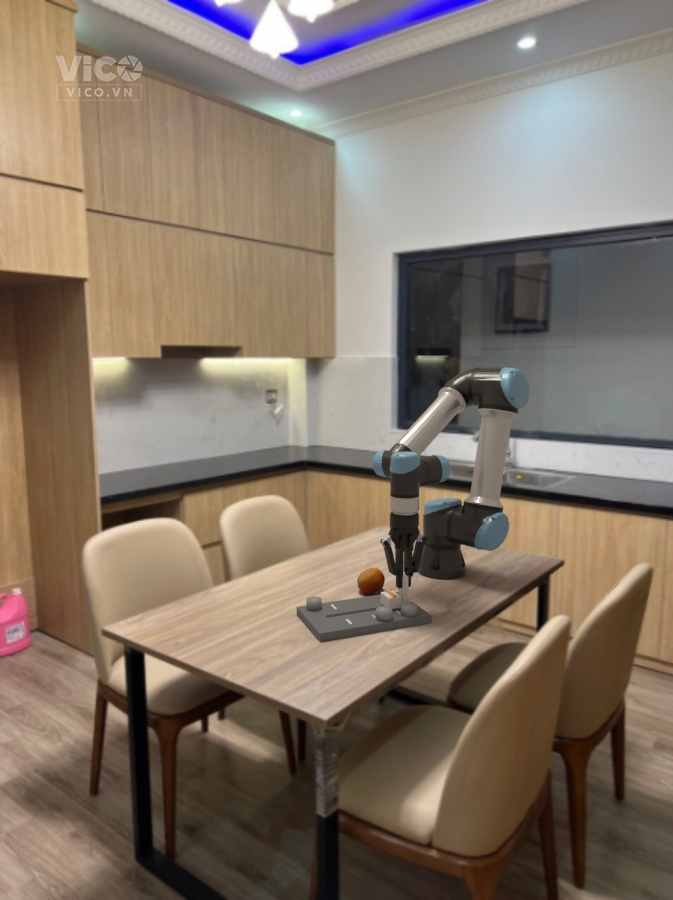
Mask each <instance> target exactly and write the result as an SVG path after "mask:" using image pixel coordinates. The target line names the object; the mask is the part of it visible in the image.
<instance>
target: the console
mask: <svg viewBox="0 0 673 900" xmlns="http://www.w3.org/2000/svg"><path fill="white" fill-rule="evenodd" d="M394 592H395V593H397V594H398V591H394ZM305 602H306V605H300V606H296V615H297V616H298V617H299V618H300V621H302V622H303V623H304V625H305V626H306V627H307V628H308V629H309V631H311V633H312V634H313V635H314V637H315V638H316V639H317V640H318V642H325V641H330V640H331V641H332V640H337V639H342V638H343V639H344V638H347V637H348V638H350V637H355V636H361V635H367V634H371V633H373V634H374V633H379V632H383V631H385V632H386V631H389V630H396V629H401V628H407V627H413V626H419V625H424V624H432V614H430V613H429V612H428V611H426V610H425V609H424V608H423V607H420V606H419V605H418V604H417V603H415V602H414V601H413V600H411V599H410V598H408V601H402V600H401V608H397V609H392V608H390V607H387V606H384V605H382V604H381V593H380V594H373V595H368V596H362V597H360V596H359V597H354V598H348V599H340V600H334V601H328V602H327V601H326V602H323V599H322V598H321V597H320V596H309V597H306V601H305Z"/></svg>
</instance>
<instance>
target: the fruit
mask: <svg viewBox="0 0 673 900" xmlns="http://www.w3.org/2000/svg"><path fill="white" fill-rule="evenodd" d="M385 580H386V579H385V574H384V573H383V571H381V570H380V569H379V568H378V567H370V568H367V569H365V570H364V571H363V570H362V572H360V573H359V575H358V577H357V580H356V582H357V588H358V590H360V591H361V593H363V594H365V595H368V596H372V595H380V594H381V592H382V591H384V586H385Z"/></svg>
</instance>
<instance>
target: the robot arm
mask: <svg viewBox="0 0 673 900" xmlns="http://www.w3.org/2000/svg"><path fill="white" fill-rule="evenodd" d="M529 385H530V384H529V381H528V379H527V375H526V374H525V373H524V372H523V371H522V370H521V369H519V368H516V367H515V368H514V367H507V366H506V367H505V366H504V367H471V368H468V369H466V370H464V371H462V372H460V373H458V374H457V375H455V376H454V377H453V378H451V379H450V380H449V381H447V382H446V383H445V385H444V386H442V387H441V388H440V390H439V391H438V395H437V398H436V399H435V400H434V401H433V402H432V403H431V404H430V405H429V406H428V408H426V410H425V411H423V413H422V414H421V415H420V417H418V418H417V420H416V421H415V422H414V423H413V424H412V425H411V426H409V428H408V430H407V431H406V432H405V433H403V435H402V436H401V437H400V438H399V439H398V440H397V441H396V442H395V444H393V446H391V448H390V449H389V450H388V449H385V450H383V449H382V450H379V451H377V452H376V453H375V454H374V456H373V459H372V468H373V471H374V473H375V474H376V475H377V476H378V477H379V476H380V477H384V478H386V479H390V480H389V481H390V482H389V483H390V484H389V485H390V486H389V487H390V488H389V489H390V492H389V498H390V499H389V509H390V511H391V512H389V531H388V535H387V536H386V537H385V538H382V539H380V541H379V542H380V544H381V545H382V547H383V550H384V555H385V559H386V563H387V569H388V572H389V574H391V575H392V576H395V586H396V588H398V591H397V592H398V595H399V596H401V600H402V601H408V599H409V588H411V586H412V578H413V576H414V574H417V573H418V574H420V575H421V576H424V577H427V578H430V579H438V580H440V579H443V580H449V579H457V578H460V577H463V576H465V575H466V573H467V564H466V562H465V558H464V555H463V552H462V549H461V548H462V547H461V545H462V546H466V547H470V548H474V549H477V550H481V551H482V550H483V551H488V552H491V551H495V550H497V549H499V548H500V547H501V546H502V545H503V543H504V542H505V540H506V539H507V536H508V533H509V530H510V521H509V517H508V515H506V514H505V513H504V505H503V503H501V501H500V498H501V490H502V485H503V477H504V472H505V471H504V470H505V465H506V458H507V452H508V445H509V438H510V434H511V433H510V432H511V425H512V421H513V419H515V418H516V417H518V415H519V409H523V408H524V407H526V405H527V403H528V402H529V397H530V386H529ZM473 406H477V411H478V413H479V414H480V416H481V422H480V428H479V433H478V434H479V435H478V439H477V447H476V453H475V459H474V468H473V473H472V480H471V487H470V493H469V494H470V495H469V496H468V497H466V498H465V499H464V500H462V499H461V498H457V497H446V498H445V497H443V498H435V499H430V500H428V501H426V502H425V503H424V506H423V514H422V515H423V516H422V517H423V520H422V521H423V524H422V525H423V526H422V529H423V531H422V532H423V534H421V532H420V529H419V526H420V513H419V511H420V488H421V487H425V486H429V485H430V486H431V485H438V484H439V483H442V482H445V481H447V480H448V479H449V477H450V475H451V472H452V471H451V469H452V468H451V464H450V462H449V459H447V458H446V457H445V456H443V455H440V454H439V455H438V454H437V455H436V454H432V455H422V454H423V453H424V452H425V450H426V449H427V448H429V446H430V445H431V443H432V442H433V441H434V440H435V439H436V438H437V437H438V436H439V435H440V434H441V433H442V431H443V430H444V429H445V428H446V426H447V425H448V424H449V423H450V422H451V421H452V420H453V419H454V417H455V416H456V415H457V414H461V413H463V412H464V411H465V410H466V409H467V408H470V407H473ZM462 501H463V502H462ZM392 545H394V549H395V551H393V547H392ZM393 552H395V553H393ZM394 554H395V557H394Z"/></svg>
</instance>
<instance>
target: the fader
mask: <svg viewBox="0 0 673 900" xmlns="http://www.w3.org/2000/svg"><path fill="white" fill-rule="evenodd" d="M395 592H396V591H394V590H390V589H388V588H385V591H380V594H381V604H382V605H384V606H387V607H390V608H392V609H397V608H401V596H399V595H398V594H397V593H395Z"/></svg>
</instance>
